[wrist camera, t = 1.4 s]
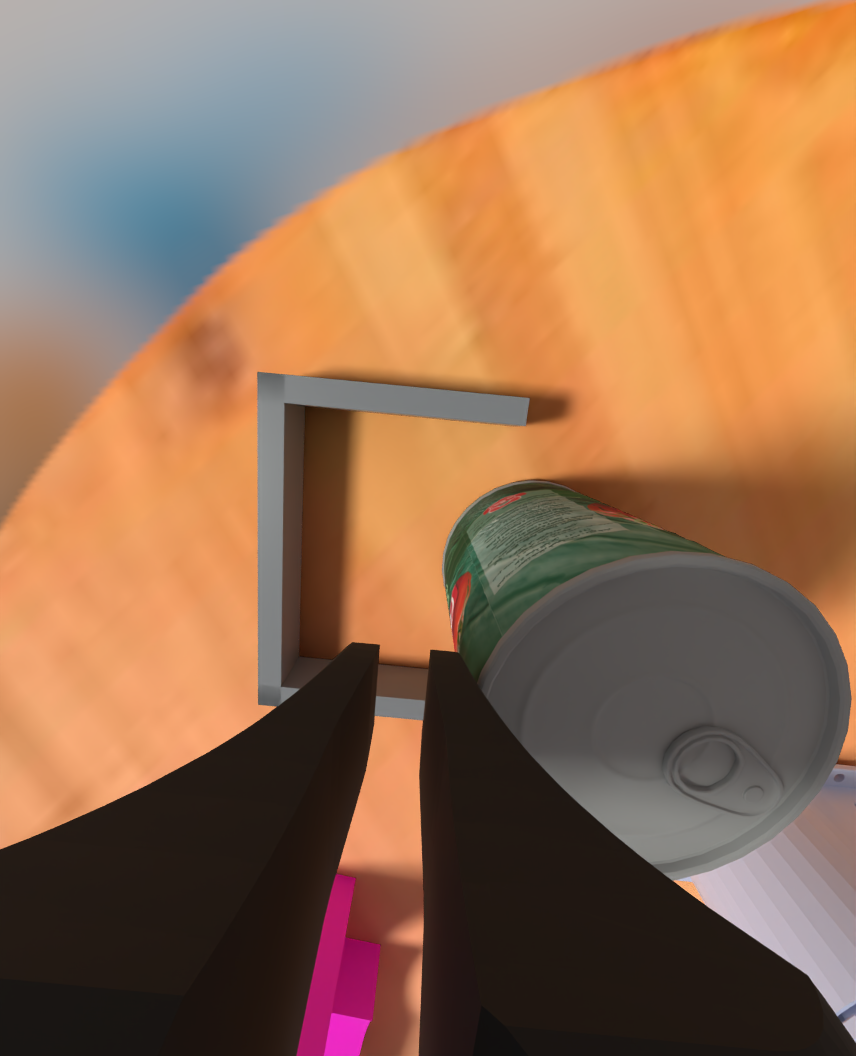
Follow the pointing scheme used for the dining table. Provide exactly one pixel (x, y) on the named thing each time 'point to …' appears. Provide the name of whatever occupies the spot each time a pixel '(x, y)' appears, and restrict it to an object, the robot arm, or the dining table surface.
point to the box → (284, 508)
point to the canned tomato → (647, 672)
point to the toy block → (340, 983)
